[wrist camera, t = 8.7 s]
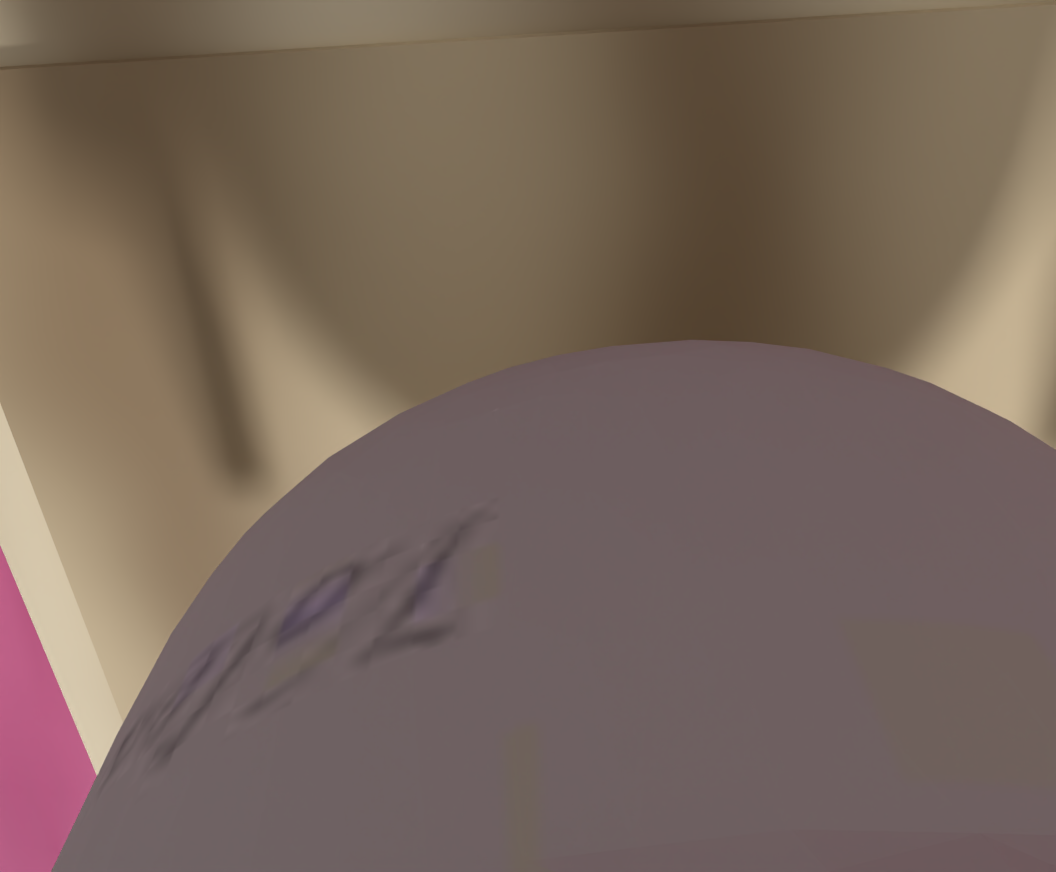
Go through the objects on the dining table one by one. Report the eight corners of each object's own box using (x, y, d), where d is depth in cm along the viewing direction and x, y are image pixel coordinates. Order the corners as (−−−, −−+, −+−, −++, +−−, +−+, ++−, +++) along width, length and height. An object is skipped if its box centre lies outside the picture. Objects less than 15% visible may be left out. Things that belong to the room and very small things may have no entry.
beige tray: (211, 790, 24) (157, 937, 21) (-70, -45, 14) (-245, -10, 11) (1075, 771, 23) (1159, 924, 20) (1370, -144, 13) (1621, -135, 10)
